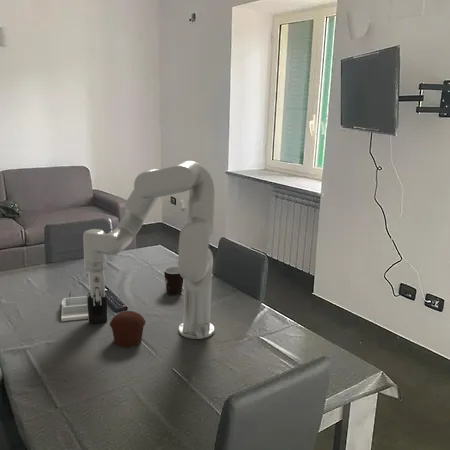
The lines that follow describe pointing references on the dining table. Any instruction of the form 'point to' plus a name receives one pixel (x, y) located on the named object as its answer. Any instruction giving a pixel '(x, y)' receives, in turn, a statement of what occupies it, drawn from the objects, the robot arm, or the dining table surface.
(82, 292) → the dining table surface
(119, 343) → the muffin
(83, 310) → the dock
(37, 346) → the dining table surface
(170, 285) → the coffee mug
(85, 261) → the robot arm
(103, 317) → the battery charger
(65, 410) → the dining table surface
